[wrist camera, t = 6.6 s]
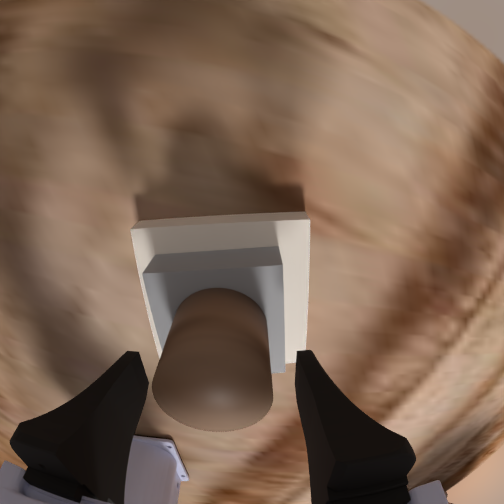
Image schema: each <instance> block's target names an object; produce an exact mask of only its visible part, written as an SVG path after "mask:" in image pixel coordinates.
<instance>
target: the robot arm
mask: <svg viewBox="0 0 504 504" xmlns="http://www.w3.org/2000/svg"><path fill="white" fill-rule="evenodd" d="M148 385H149V382H148V379H147V376H146V373H145V370H144V367H143V363H142V360H141V357H140V354H139V352H133V351H127V352H126V353H125V354H124V355H122V356H121V357H120V358H119V359H118V360H117V361H116V362H115V363H114V364H113V365H112V366H111V367H110V368H109V369H108V370H107V371H106V372H105V373H104V374H103V375H102V376H101V377H99V378H98V379H97V380H96V381H95V382H94V383H92V384H91V385H90V386H89V387H88V388H87V389H85V390H84V391H83V392H81V393H80V394H79V395H77V396H76V397H74V398H73V399H71V400H70V401H68V402H67V403H65V404H63V405H61V406H60V407H58V408H56V409H54V410H52V411H50V412H48V413H46V414H44V415H41V416H39V417H36V418H33V419H30V420H27V421H24V422H21V423H20V424H19V425H18V427H17V429H16V430H15V432H14V434H13V436H12V438H11V439H10V445H11V447H12V449H13V450H14V451H15V453H16V454H17V455H18V456H19V457H20V458H21V459H22V460H23V462H24V463H25V464H26V465H27V466H28V468H27V470H26V471H25V470H24V469H23V468H21V467H19V466H17V465H14V464H12V463H10V462H8V461H4V463H3V465H2V467H1V469H0V504H177V503H178V496H179V490H180V483H181V481H189V476H188V474H187V472H186V470H185V467H184V465H183V463H182V461H181V458H180V456H179V454H178V451H177V449H176V447H175V444H174V442H173V441H172V440H169V439H160V438H151V437H142V436H135V435H134V433H135V430H136V427H137V424H138V421H139V418H140V416H141V413H142V410H143V407H144V404H145V400H146V395H147V390H148ZM295 389H296V399H297V405H298V409H299V414H300V418H301V423H302V427H303V431H304V436H305V440H306V446H307V454H308V464H309V474H310V487H311V502H312V504H448V501H447V498H446V495H445V493H444V490H443V487H442V485H441V482H440V480H436V481H433V482H430V483H427V484H424V485H421V486H418V487H415V488H413V489H411V490H409V491H408V489H407V486H406V485H408V479H407V476H406V475H407V474H408V473H409V471H410V470H411V468H412V467H413V465H414V463H415V461H416V456H415V454H414V451H413V449H412V447H411V445H410V443H409V442H408V440H407V438H405V437H403V436H401V435H399V434H397V433H395V432H393V431H391V430H389V429H387V428H385V427H384V426H382V425H380V424H379V423H377V422H376V421H375V420H373V419H372V418H370V417H369V416H368V415H366V414H365V413H364V412H362V411H361V410H360V409H359V408H358V407H357V406H355V405H354V404H353V403H352V402H351V401H350V400H349V399H348V398H347V397H346V396H345V395H344V394H343V393H342V392H341V391H340V389H339V388H338V387H337V386H336V385H335V384H334V382H333V381H332V380H331V379H330V377H329V376H328V375H327V373H326V372H325V371H324V369H323V368H322V366H321V365H320V363H319V362H318V360H317V359H316V357H315V355H314V353H313V352H312V351H311V350H302V351H297V355H296V373H295Z"/></svg>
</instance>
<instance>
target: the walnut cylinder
mask: <svg viewBox="0 0 504 504" xmlns="http://www.w3.org/2000/svg"><path fill="white" fill-rule="evenodd" d="M152 392H153V395H154V398H155V400H156V402H157V404H158V405H159V406H160V408H161V409H162V410H163V411H164V412H165V413H166V414H168V415H169V416H170V417H172V418H173V419H174V420H176V421H178V422H180V423H182V424H184V425H186V426H189V427H192V428H195V429H199V430H204V431H212V432H228V431H235V430H240V429H243V428H246V427H249V426H251V425H253V424H255V423H257V422H258V421H260V420H261V419H262V418H263V417H264V416H265V415H266V414H267V413H268V411H269V410H270V408H271V406H272V402H273V388H272V375H271V363H270V351H269V339H268V327H267V320H266V317H265V315H264V313H263V311H262V309H261V308H260V306H259V305H258V304H257V303H256V302H255V301H254V300H252V299H251V298H250V297H248V296H247V295H245V294H243V293H241V292H238V291H235V290H232V289H227V288H208V289H204V290H200V291H198V292H195V293H193V294H191V295H190V296H188V297H187V298H186V299H185V300H184V301H183V302H182V303H181V304H180V305H179V307H178V309H177V311H176V313H175V316H174V319H173V322H172V325H171V328H170V331H169V333H168V336H167V339H166V342H165V345H164V348H163V351H162V354H161V357H160V360H159V363H158V366H157V369H156V372H155V375H154V378H153V382H152Z"/></svg>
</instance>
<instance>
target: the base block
mask: <svg viewBox="0 0 504 504" xmlns="http://www.w3.org/2000/svg"><path fill="white" fill-rule="evenodd" d="M130 230H131V236H132V241H133V247H134V252H135V258H136V263H137V268H138V273H139V277H140V282H141V287H142V291H143V296H144V300H145V304H146V309H147V313H148V317H149V321H150V325H151V329H152V333H153V337H154V340H155V344H156V348H157V351H158V355H159V358H160V357H161V354H162V349H161V345H160V342H159V338H158V335H157V331H156V327H155V324H154V320H153V316H152V312H151V309H150V305H149V301H148V297H147V293H146V288H145V284H144V280H143V276H142V273H143V271H144V270H145V269H146V267H147V266H148V264H149V263H150V261H151V260H152V258H153V257H154V256H155V255H156V254H171V253H185V252H199V251H214V250H229V249H243V248H258V247H273V246H279V250H280V254H281V259H282V263H283V284H284V322H285V364H286V363H296V355H297V351H302V350H306V335H307V316H308V292H309V260H310V218H309V217H308V215H307V214H306V212H277V213H254V214H234V215H215V216H199V217H183V218H169V219H155V220H142V221H139V222H138V223H137V224H136V225H134V226H133V227H132V228H131V229H130Z"/></svg>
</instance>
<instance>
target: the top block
mask: <svg viewBox="0 0 504 504" xmlns="http://www.w3.org/2000/svg"><path fill="white" fill-rule="evenodd" d="M142 276H143V280H144V284H145V288H146V293H147V297H148V301H149V305H150V309H151V312H152V316H153V320H154V324H155V327H156V331H157V335H158V338H159V342H160V345H161V349H162V351H163V348H164V345H165V342H166V339H167V336H168V333H169V331H170V328H171V325H172V322H173V319H174V316H175V313H176V311H177V309H178V307H179V305H180V304H181V303H182V302H183V301H184V300H185V299H186V298H187V297H188V296H190V295H191V294H193V293H195V292H198V291H200V290H204V289H208V288H227V289H232V290H235V291H238V292H241V293H243V294H245V295H247V296H248V297H250V298H251V299H252V300H254V301H255V302H256V303H257V304H258V305H259V306H260V308H261V309H262V311H263V313H264V315H265V317H266V320H267V327H268V339H269V351H270V363H271V373H284V372H285V322H284V284H283V263H282V259H281V254H280V250H279V246H273V247H258V248H243V249H229V250H214V251H199V252H185V253H171V254H156V255H155V256H154V257H153V258H152V260H151V261H150V263H149V264H148V266H147V267H146V269H145V270H144V271H143V273H142Z"/></svg>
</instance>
